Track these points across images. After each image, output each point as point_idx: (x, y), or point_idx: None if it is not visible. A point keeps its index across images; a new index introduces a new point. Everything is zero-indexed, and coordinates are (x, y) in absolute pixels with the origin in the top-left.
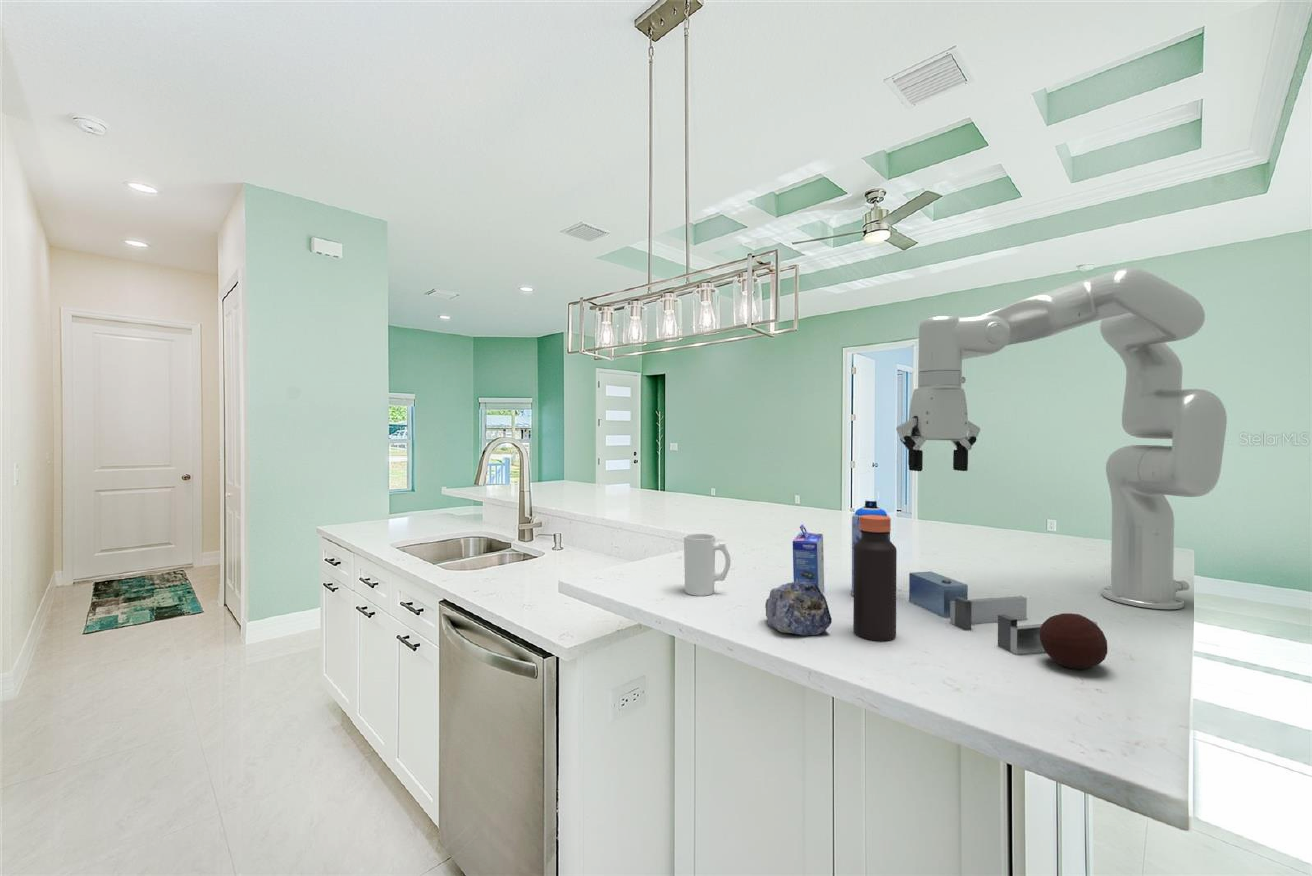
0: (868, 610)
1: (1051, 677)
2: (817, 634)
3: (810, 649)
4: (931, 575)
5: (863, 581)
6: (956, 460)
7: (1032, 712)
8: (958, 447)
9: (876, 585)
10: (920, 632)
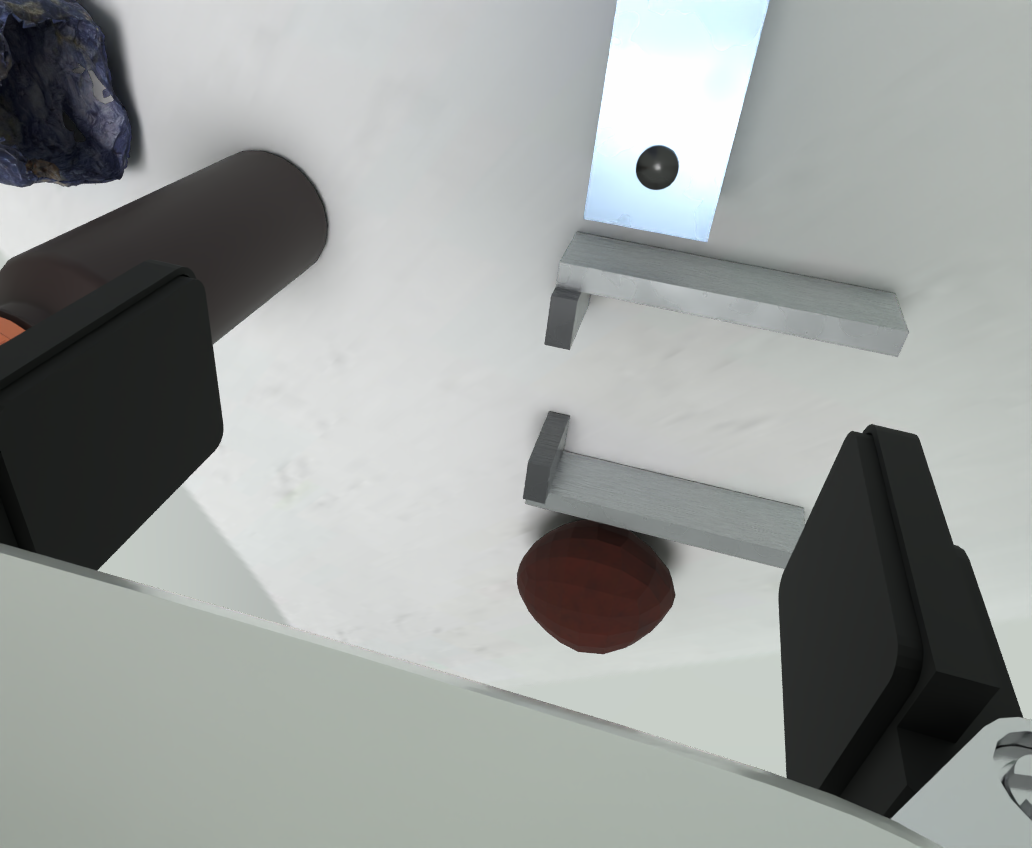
0: None
1: (503, 544)
2: (104, 155)
3: None
4: (697, 32)
5: None
6: (840, 573)
7: (352, 582)
8: (887, 805)
9: None
10: (417, 255)
